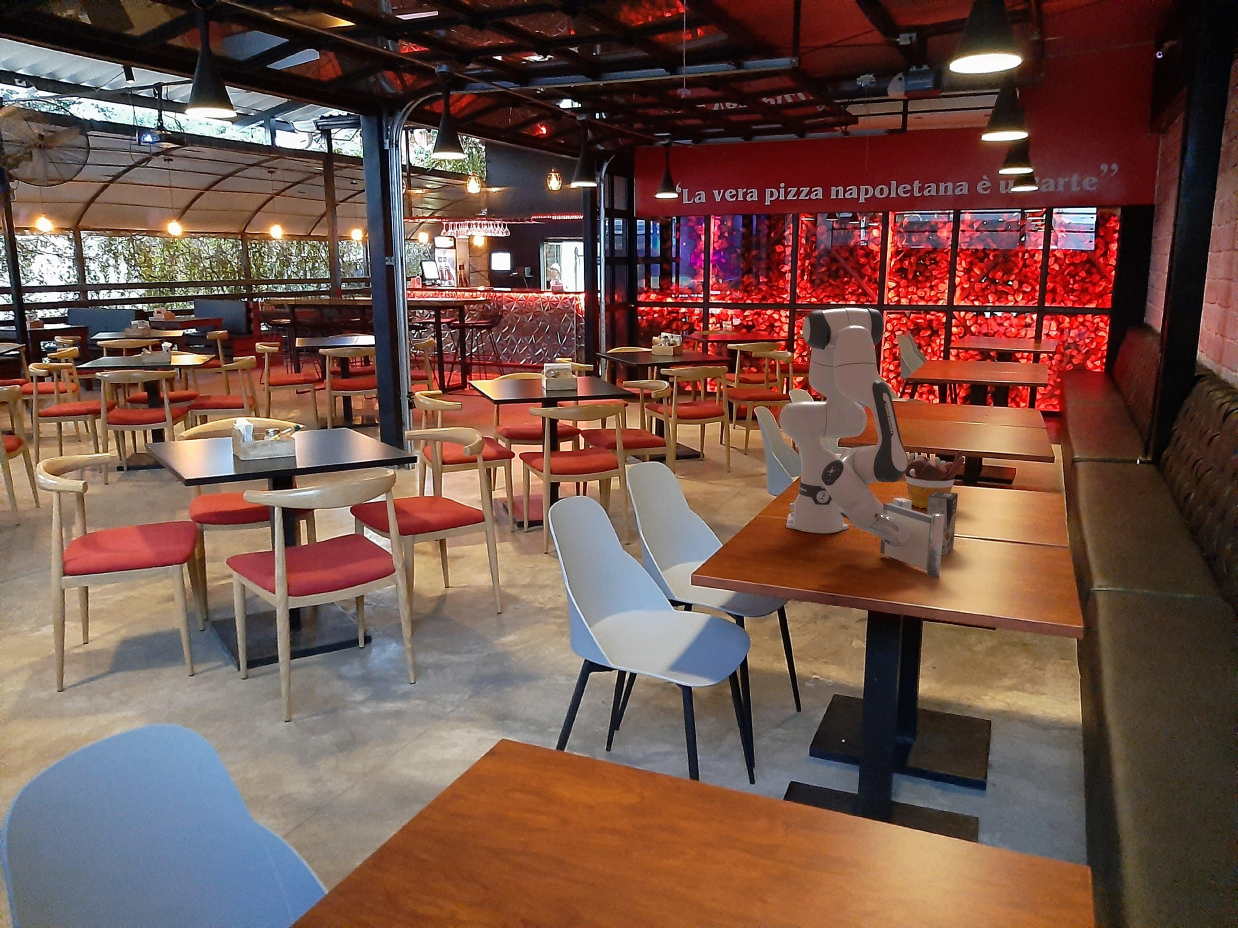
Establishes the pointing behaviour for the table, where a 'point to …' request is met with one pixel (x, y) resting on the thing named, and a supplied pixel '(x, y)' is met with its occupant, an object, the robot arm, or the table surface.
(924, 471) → the bucket of meat
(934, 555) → the hinge post
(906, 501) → the post
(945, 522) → the coffee box
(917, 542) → the gate
